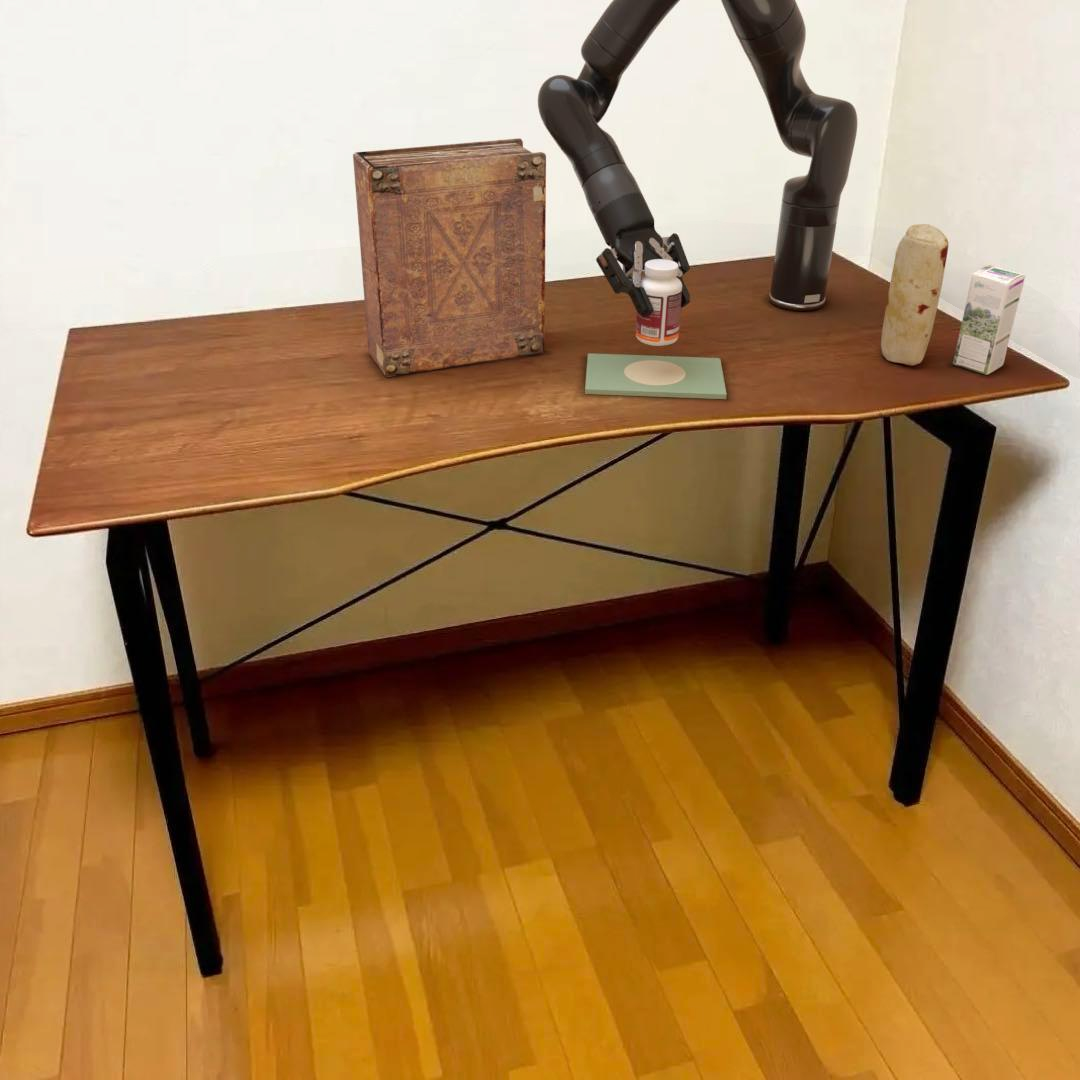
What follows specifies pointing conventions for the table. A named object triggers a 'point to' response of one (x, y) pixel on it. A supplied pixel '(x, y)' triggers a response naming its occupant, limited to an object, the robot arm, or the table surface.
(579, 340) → the table surface
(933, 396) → the table surface
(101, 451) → the table surface
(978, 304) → the syrup box
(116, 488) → the table surface
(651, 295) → the pill bottle
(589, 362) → the mat
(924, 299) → the food model
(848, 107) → the robot arm
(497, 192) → the book
